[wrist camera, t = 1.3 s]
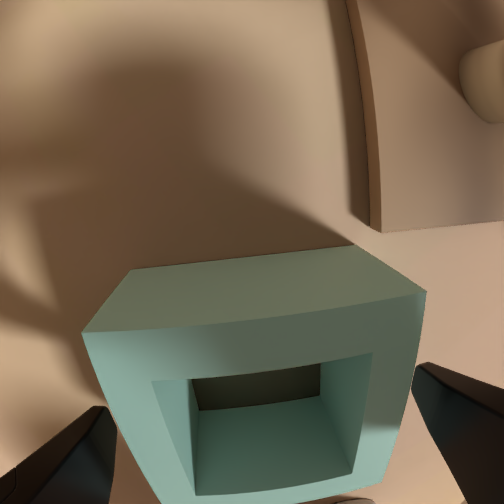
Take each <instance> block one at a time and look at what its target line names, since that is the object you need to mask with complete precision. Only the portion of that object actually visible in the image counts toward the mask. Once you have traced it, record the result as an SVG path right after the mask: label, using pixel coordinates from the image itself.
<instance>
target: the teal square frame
mask: <svg viewBox="0 0 504 504" xmlns="http://www.w3.org/2000/svg"><path fill="white" fill-rule="evenodd" d="M426 292H427V291H426V290H424V289H423V288H421V287H420V286H418V285H417V284H415V283H414V282H412V281H411V280H409V279H408V278H406V277H405V276H403V275H402V274H400V273H399V272H397V271H396V270H394V269H393V268H391V267H390V266H388V265H387V264H385V263H384V262H382V261H381V260H379V259H378V258H376V257H374V256H373V255H371V254H370V253H368V252H367V251H365V250H363V249H362V248H360V247H359V246H357V245H350V246H341V247H332V248H323V249H315V250H306V251H297V252H288V253H279V254H270V255H261V256H252V257H243V258H234V259H225V260H216V261H207V262H197V263H188V264H179V265H170V266H161V267H151V268H142V269H133V270H130V271H129V272H128V274H127V275H126V276H125V277H124V279H123V280H122V281H121V282H120V283H119V285H118V286H117V287H116V288H115V290H114V291H113V292H112V293H111V295H110V296H109V297H108V298H107V300H106V301H105V302H104V304H103V305H102V306H101V307H100V309H99V310H98V311H97V313H96V314H95V315H94V316H93V318H92V319H91V320H90V322H89V323H88V324H87V326H86V327H85V328H84V330H83V331H82V332H81V334H82V337H83V340H84V343H85V346H86V349H87V352H88V354H89V357H90V360H91V363H92V365H93V368H94V371H95V373H96V376H97V378H98V381H99V383H100V386H101V388H102V391H103V393H104V395H105V398H106V400H107V402H108V405H109V407H110V409H111V411H112V414H113V416H114V418H115V420H116V422H117V424H118V426H119V429H120V431H121V433H122V435H123V437H124V439H125V441H126V443H127V445H128V447H129V449H130V451H131V452H132V454H133V456H134V458H135V460H136V462H137V464H138V465H139V467H140V469H141V471H142V473H143V474H144V476H145V478H146V479H147V481H148V483H149V485H150V486H151V488H152V490H153V491H154V493H155V494H156V496H157V498H158V499H159V501H160V502H161V504H296V503H302V502H307V501H312V500H317V499H321V498H326V497H330V496H334V495H338V494H342V493H346V492H350V491H354V490H357V489H361V488H364V487H367V486H371V485H374V484H377V483H380V482H382V479H383V477H384V474H385V471H386V468H387V466H388V463H389V460H390V457H391V454H392V451H393V448H394V445H395V441H396V438H397V435H398V432H399V428H400V425H401V421H402V418H403V414H404V410H405V406H406V403H407V399H408V395H409V390H410V386H411V382H412V377H413V373H414V368H415V363H416V358H417V353H418V347H419V342H420V336H421V329H422V323H423V316H424V309H425V301H426ZM317 363H321V374H320V396H315V397H309V398H304V399H298V400H292V401H285V402H279V403H272V404H265V405H257V406H249V407H240V408H230V409H219V410H206V411H199V408H198V404H197V400H196V396H195V392H194V388H193V384H192V380H191V379H198V378H210V377H221V376H231V375H241V374H249V373H258V372H265V371H273V370H280V369H286V368H293V367H299V366H305V365H311V364H317Z"/></svg>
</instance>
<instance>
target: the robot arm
mask: <svg viewBox="0 0 504 504" xmlns="http://www.w3.org/2000/svg"><path fill="white" fill-rule="evenodd" d="M411 391H412V394H413V397H414V399H415V401H416V403H417V406H418V408H419V410H420V413H421V415H422V417H423V420H424V422H425V424H426V426H427V429H428V431H429V433H430V434H431V436H432V438H433V440H434V442H435V443H436V445H437V447H438V449H439V451H440V452H441V454H442V456H443V458H444V460H445V461H446V463H447V465H448V467H449V469H450V471H451V473H452V474H453V476H454V478H455V480H456V482H457V484H458V486H459V488H460V490H461V491H462V493H463V495H464V497H465V499H466V501H467V503H468V504H504V389H502V388H499V387H496V386H493V385H490V384H488V383H485V382H482V381H479V380H476V379H474V378H471V377H468V376H465V375H463V374H460V373H457V372H455V371H452V370H449V369H446V368H444V367H441V366H438V365H436V364H433V363H430V362H425V363H422V364H419V365H417V366H416V368H415V371H414V376H413V380H412V385H411ZM116 442H117V427H116V424H115V422H114V420H113V418H112V416H111V413H110V411H109V409H108V408H107V407H106V406H92V407H91V408H90V409H88V410H87V411H86V412H85V413H83V414H82V415H81V416H80V417H78V418H77V419H76V420H75V421H73V422H72V423H71V424H70V425H68V426H67V427H66V428H64V429H63V430H62V431H61V432H59V433H58V434H57V435H56V436H54V437H53V438H52V439H50V440H49V441H48V442H47V443H45V444H44V445H43V446H41V447H40V448H39V449H38V450H36V451H35V452H34V453H32V454H31V455H30V456H28V457H27V458H26V459H25V460H23V461H22V462H21V463H19V464H18V465H17V466H16V468H15V467H14V468H13V469H11V470H10V471H9V472H7V473H6V474H5V475H3V476H2V477H1V478H0V504H109V498H110V492H111V487H112V482H113V476H114V465H115V453H116Z"/></svg>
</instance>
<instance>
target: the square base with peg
mask: <svg viewBox="0 0 504 504" xmlns="http://www.w3.org/2000/svg"><path fill="white" fill-rule="evenodd" d="M345 1H346V5H347V10H348V14H349V19H350V24H351V30H352V35H353V40H354V46H355V52H356V58H357V65H358V71H359V78H360V86H361V94H362V102H363V111H364V120H365V131H366V143H367V157H368V173H369V196H370V228H372V229H374V230H376V231H378V232H380V233H388V232H397V231H407V230H417V229H426V228H436V227H446V226H456V225H466V224H476V223H486V222H496V221H504V0H345Z"/></svg>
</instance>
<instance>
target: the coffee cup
mask: <svg viewBox="0 0 504 504" xmlns="http://www.w3.org/2000/svg"><path fill="white" fill-rule="evenodd" d="M335 504H376V503H375V502H373V501H372V500H368V499H357V500H349V501H344V502H339V503H335Z"/></svg>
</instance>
